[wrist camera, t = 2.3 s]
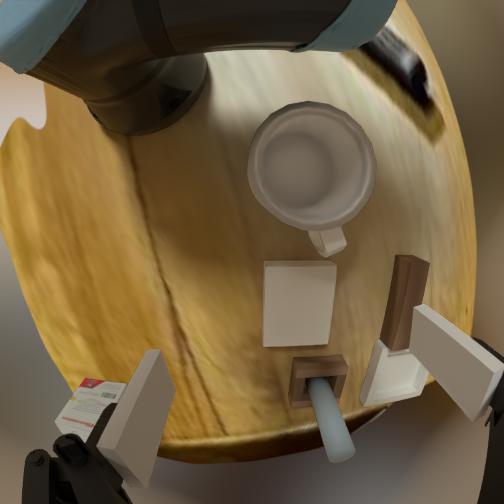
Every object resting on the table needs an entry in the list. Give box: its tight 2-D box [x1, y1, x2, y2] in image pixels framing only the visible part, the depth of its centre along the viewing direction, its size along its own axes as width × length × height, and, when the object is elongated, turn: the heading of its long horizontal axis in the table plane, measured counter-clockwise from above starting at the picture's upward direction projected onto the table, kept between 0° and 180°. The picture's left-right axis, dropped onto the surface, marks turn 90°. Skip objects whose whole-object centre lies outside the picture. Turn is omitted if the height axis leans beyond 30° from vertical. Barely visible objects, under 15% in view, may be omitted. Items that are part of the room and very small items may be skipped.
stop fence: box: [380, 255, 430, 351], centre depth 32 cm, size 3×12×4 cm, turn 178°
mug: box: [247, 101, 376, 258], centre depth 25 cm, size 14×10×11 cm
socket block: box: [288, 355, 348, 408], centre depth 35 cm, size 7×7×3 cm
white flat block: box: [262, 260, 337, 347], centre depth 32 cm, size 8×10×3 cm
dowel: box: [305, 376, 356, 463], centre depth 29 cm, size 3×3×15 cm
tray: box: [359, 339, 429, 407], centre depth 36 cm, size 11×11×2 cm
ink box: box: [55, 378, 128, 443], centre depth 31 cm, size 9×5×12 cm, turn 93°
